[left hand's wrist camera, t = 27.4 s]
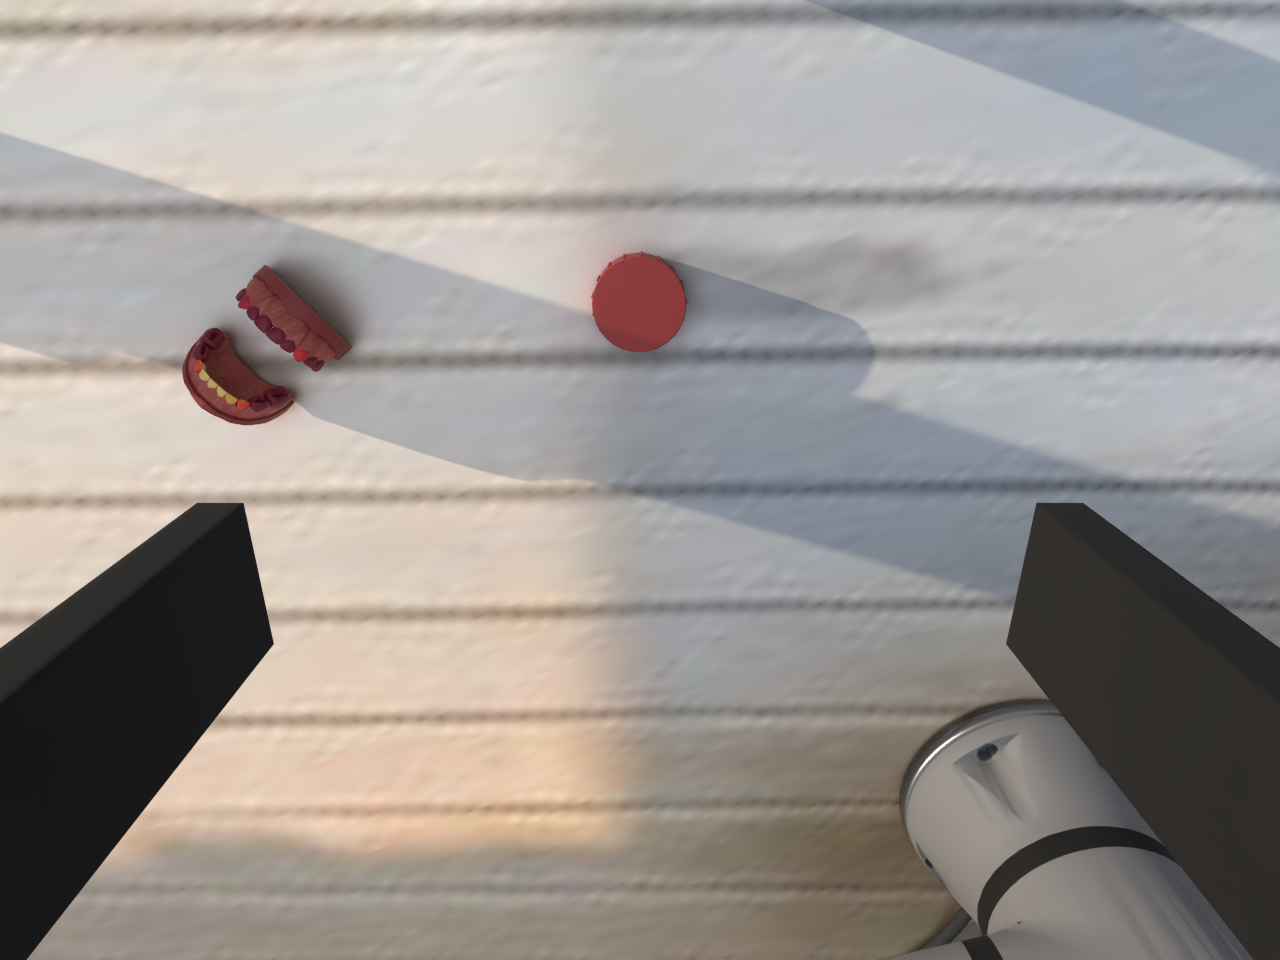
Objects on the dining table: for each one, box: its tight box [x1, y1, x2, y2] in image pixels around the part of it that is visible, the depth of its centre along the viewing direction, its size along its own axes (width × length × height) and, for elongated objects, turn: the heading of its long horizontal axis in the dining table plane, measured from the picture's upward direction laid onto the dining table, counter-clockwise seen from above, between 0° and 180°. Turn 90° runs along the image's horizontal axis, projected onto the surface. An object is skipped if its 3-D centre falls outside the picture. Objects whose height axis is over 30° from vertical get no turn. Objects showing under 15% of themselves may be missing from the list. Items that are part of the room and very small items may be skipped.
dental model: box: [182, 265, 351, 425], centre depth 38 cm, size 6×4×8 cm
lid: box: [592, 252, 687, 352], centre depth 38 cm, size 5×5×2 cm
